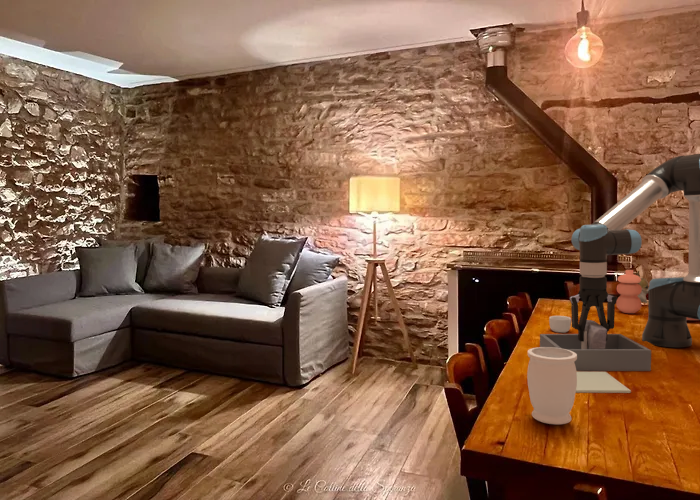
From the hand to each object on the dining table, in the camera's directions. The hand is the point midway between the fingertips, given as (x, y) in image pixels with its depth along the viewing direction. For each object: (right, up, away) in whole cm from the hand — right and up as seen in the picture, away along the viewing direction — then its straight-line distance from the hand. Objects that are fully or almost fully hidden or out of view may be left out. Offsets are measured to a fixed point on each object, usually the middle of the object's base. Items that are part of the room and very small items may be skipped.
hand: (592, 351), depth 166 cm
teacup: (+6, 0, +41) cm, 41 cm away
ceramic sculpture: (+67, +5, +98) cm, 119 cm away
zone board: (-11, -5, -20) cm, 23 cm away
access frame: (0, -3, 0) cm, 3 cm away
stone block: (+1, -1, 0) cm, 1 cm away
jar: (-29, -7, -44) cm, 53 cm away
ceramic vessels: (+61, +3, +70) cm, 92 cm away
